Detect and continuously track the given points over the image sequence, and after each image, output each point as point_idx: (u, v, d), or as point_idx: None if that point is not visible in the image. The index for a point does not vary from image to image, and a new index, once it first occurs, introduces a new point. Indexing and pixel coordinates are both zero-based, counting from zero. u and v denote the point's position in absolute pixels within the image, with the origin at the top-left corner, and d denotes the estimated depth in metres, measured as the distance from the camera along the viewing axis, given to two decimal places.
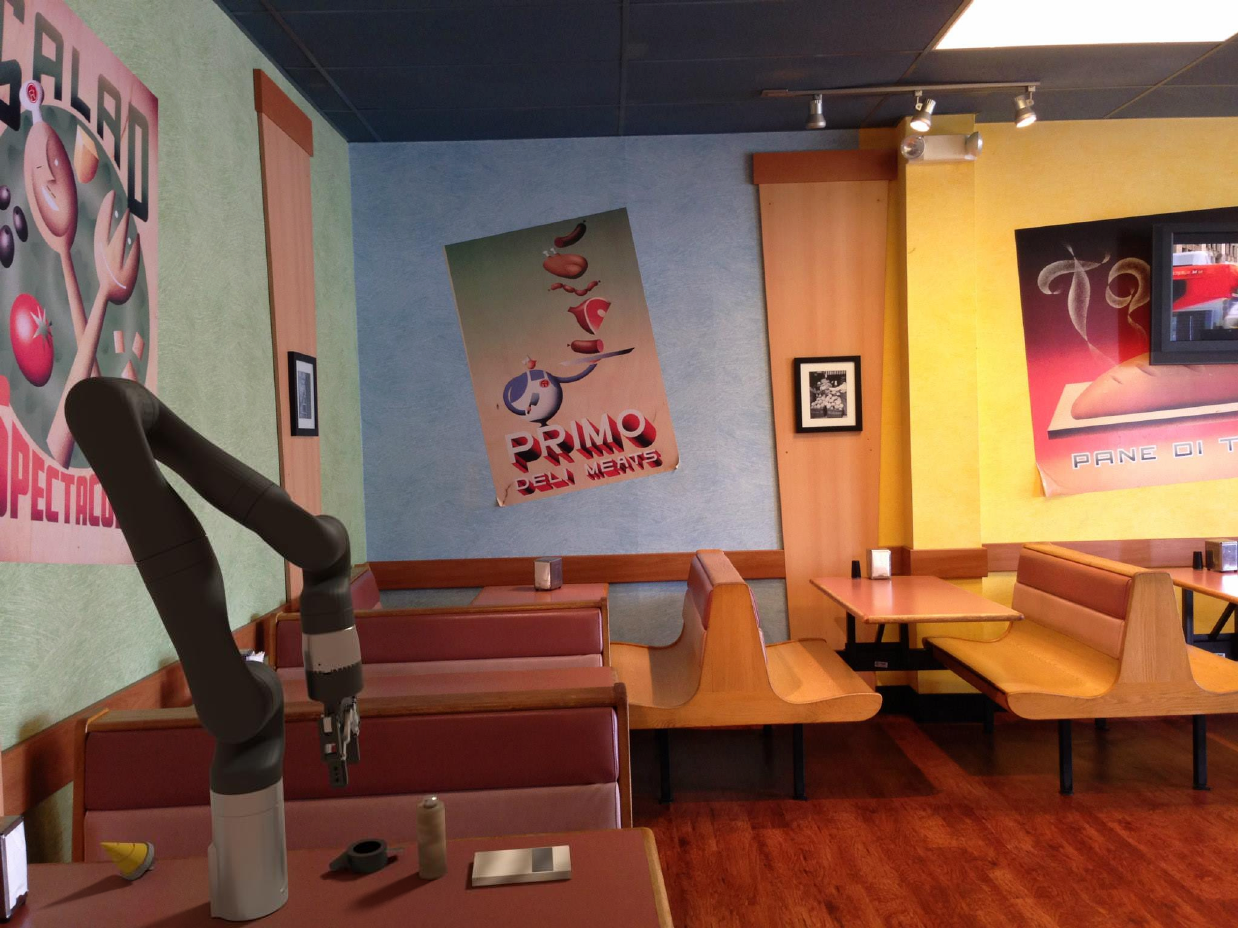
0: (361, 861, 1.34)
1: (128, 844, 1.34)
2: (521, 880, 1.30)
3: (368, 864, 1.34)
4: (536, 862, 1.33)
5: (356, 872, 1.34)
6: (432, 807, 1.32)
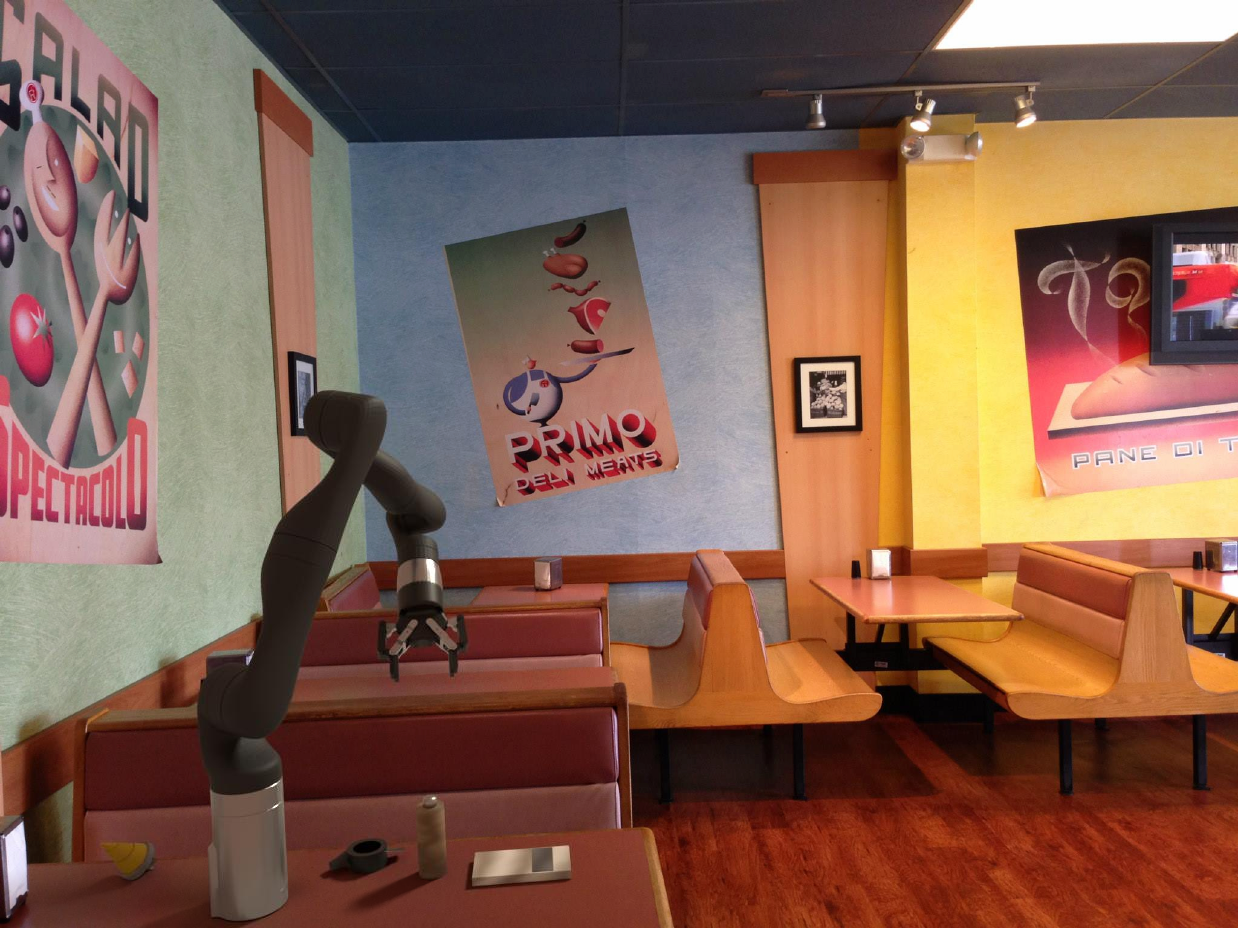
0: (360, 861, 1.34)
1: (128, 844, 1.34)
2: (521, 880, 1.30)
3: (367, 864, 1.34)
4: (536, 862, 1.33)
5: (355, 872, 1.34)
6: (432, 807, 1.32)
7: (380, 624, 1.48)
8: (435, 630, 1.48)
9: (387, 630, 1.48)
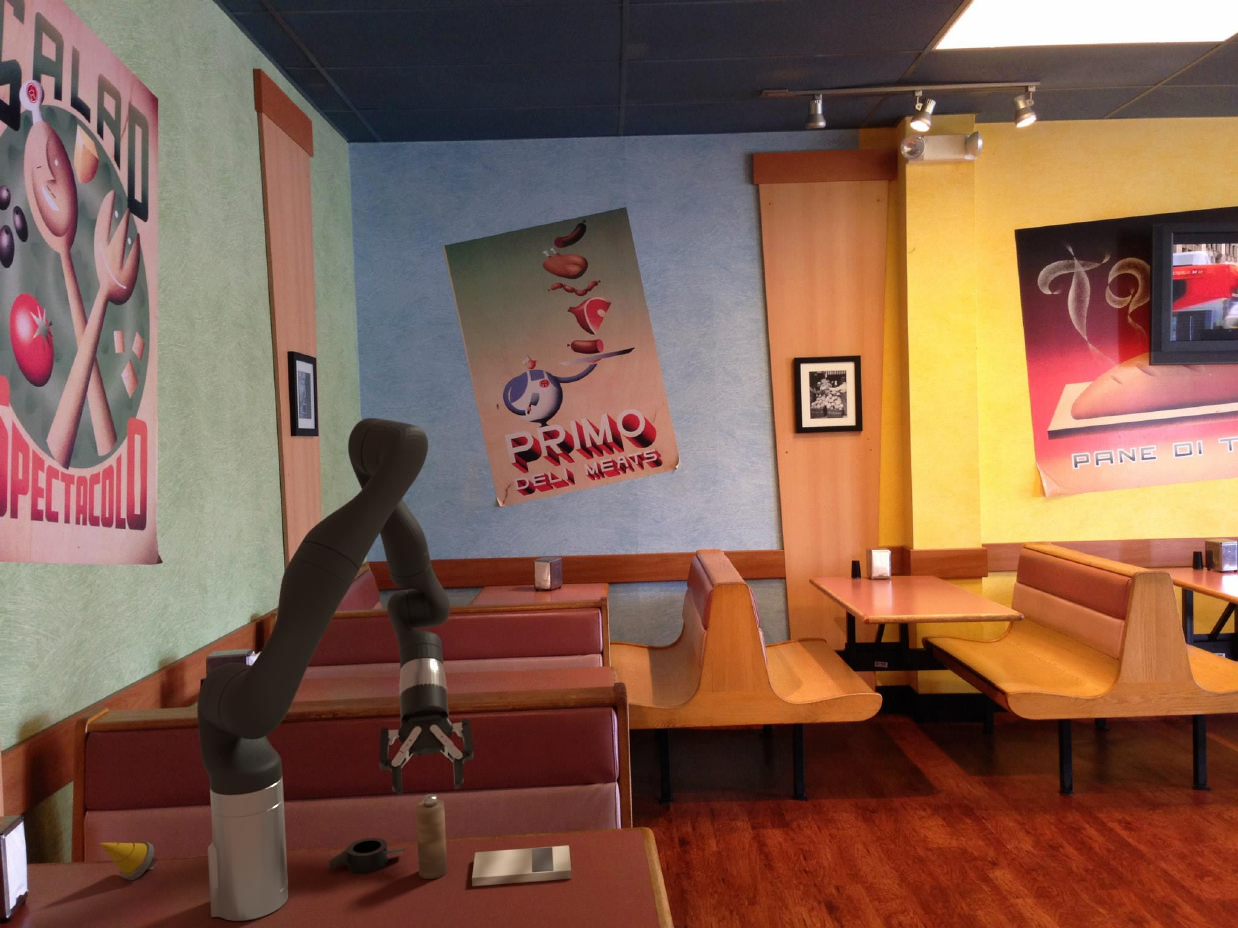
0: (358, 860, 1.34)
1: (128, 844, 1.34)
2: (521, 880, 1.30)
3: (365, 864, 1.34)
4: (536, 862, 1.33)
5: (353, 871, 1.34)
6: (432, 806, 1.32)
7: (382, 731, 1.42)
8: (439, 738, 1.42)
9: (389, 738, 1.42)
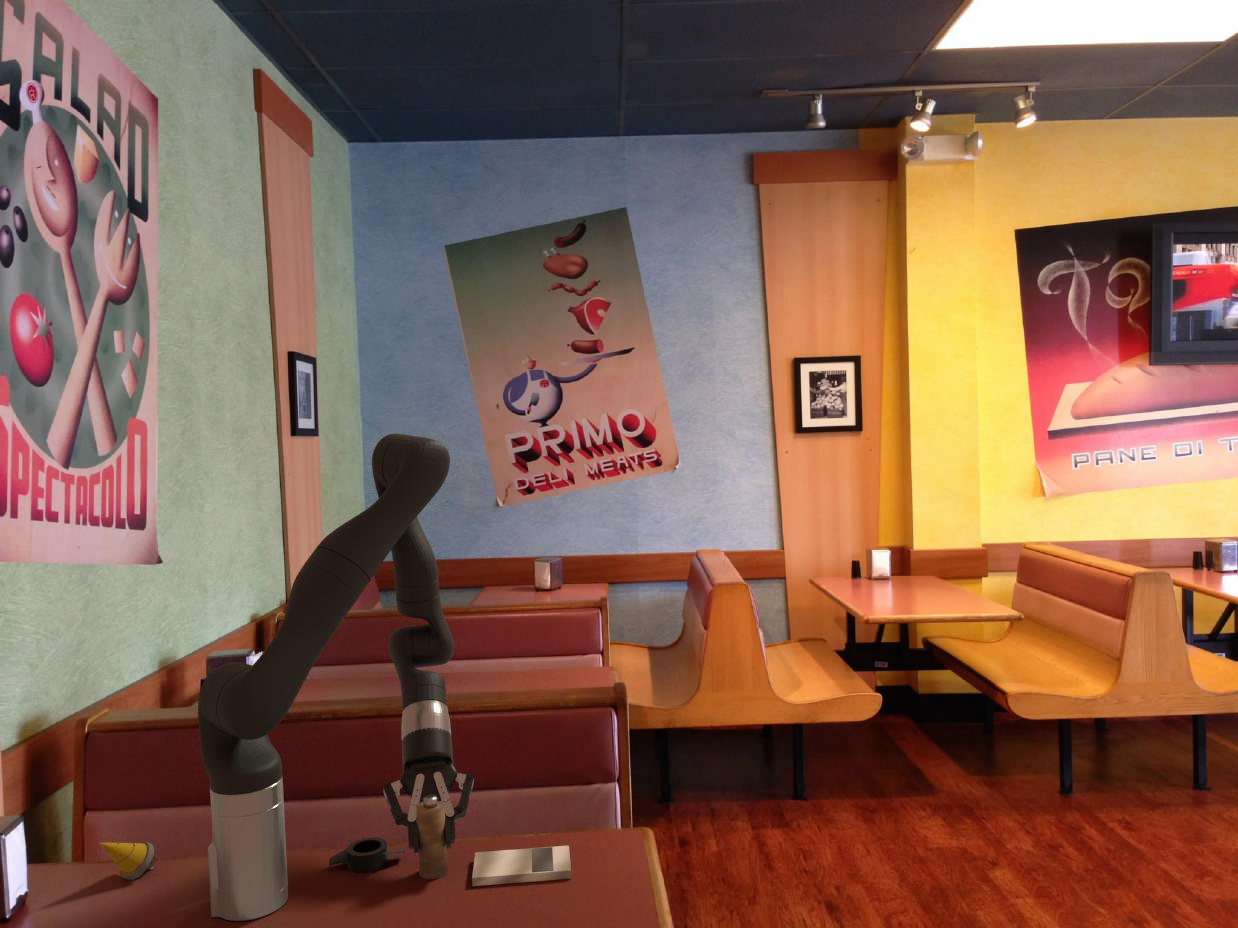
0: (356, 860, 1.34)
1: (128, 844, 1.34)
2: (521, 880, 1.30)
3: (362, 864, 1.34)
4: (536, 862, 1.33)
5: (352, 870, 1.35)
6: (433, 807, 1.32)
7: (385, 788, 1.35)
8: (438, 787, 1.36)
9: (395, 791, 1.35)
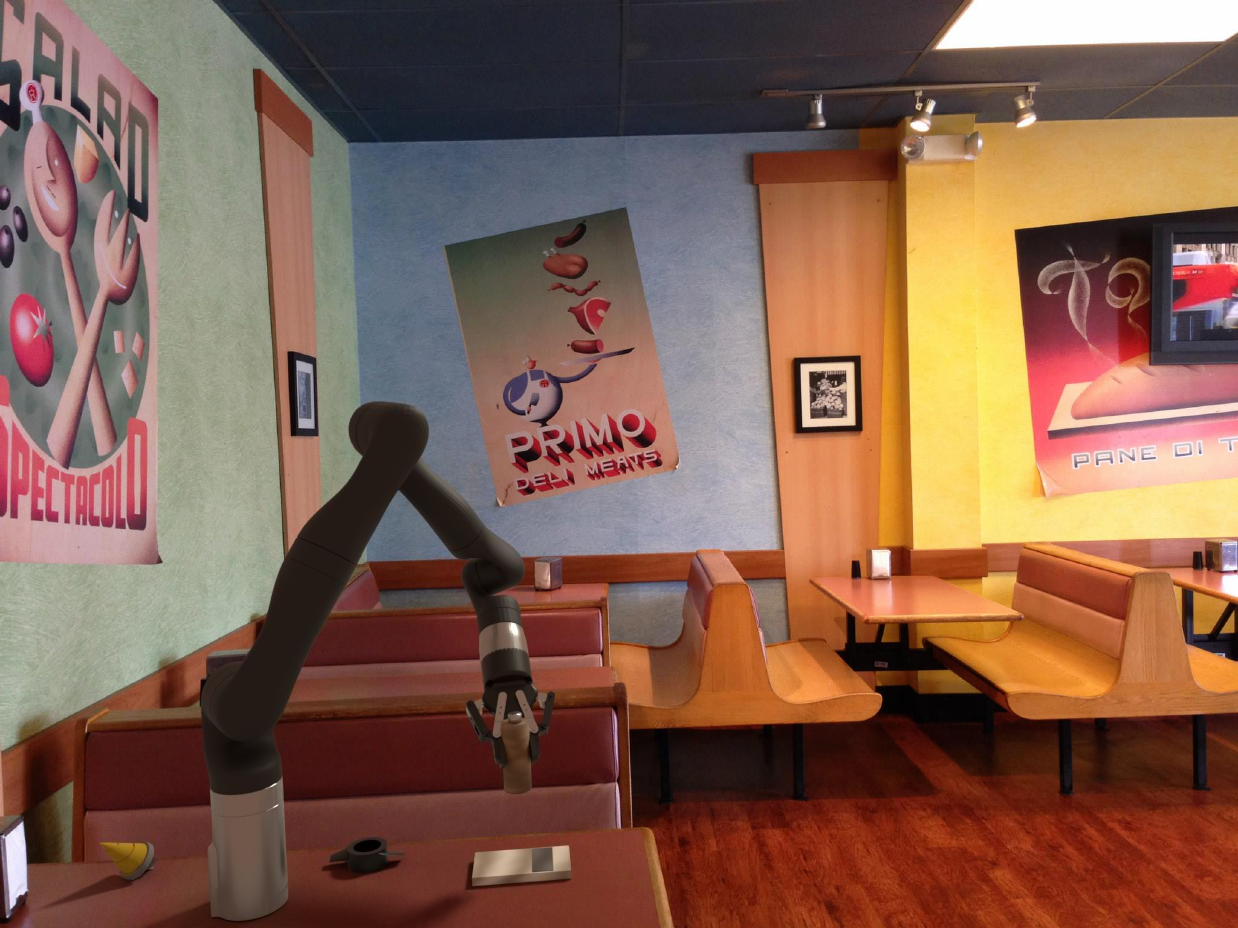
0: (354, 859, 1.34)
1: (128, 844, 1.34)
2: (521, 880, 1.30)
3: (360, 863, 1.34)
4: (536, 862, 1.33)
5: (350, 868, 1.35)
6: (518, 722, 1.33)
7: (469, 705, 1.35)
8: (521, 705, 1.36)
9: (478, 709, 1.35)
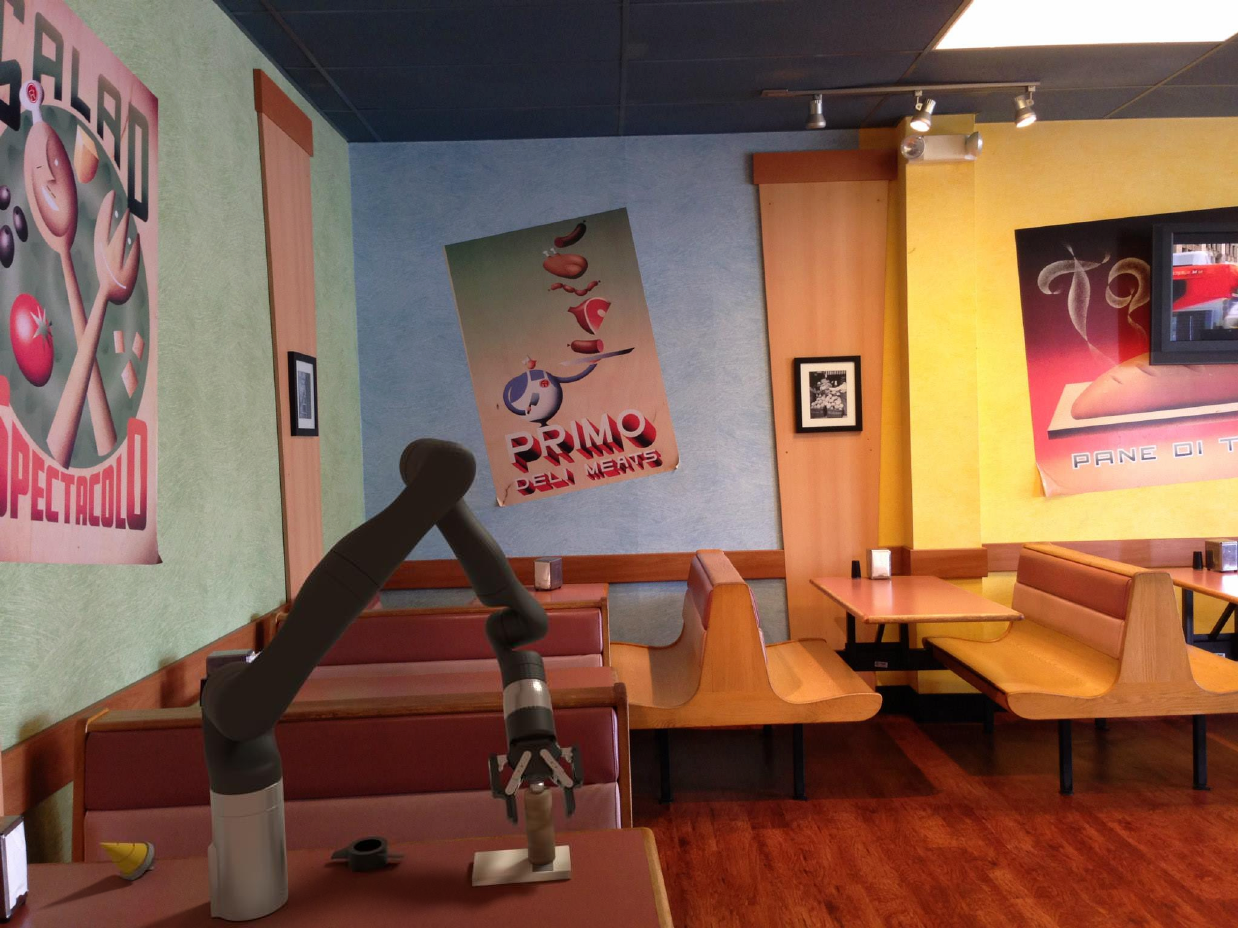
0: (352, 857, 1.35)
1: (128, 844, 1.34)
2: (521, 880, 1.30)
3: (357, 862, 1.34)
4: None
5: (349, 867, 1.36)
6: (540, 793, 1.33)
7: (491, 758, 1.36)
8: (549, 763, 1.36)
9: (499, 764, 1.36)
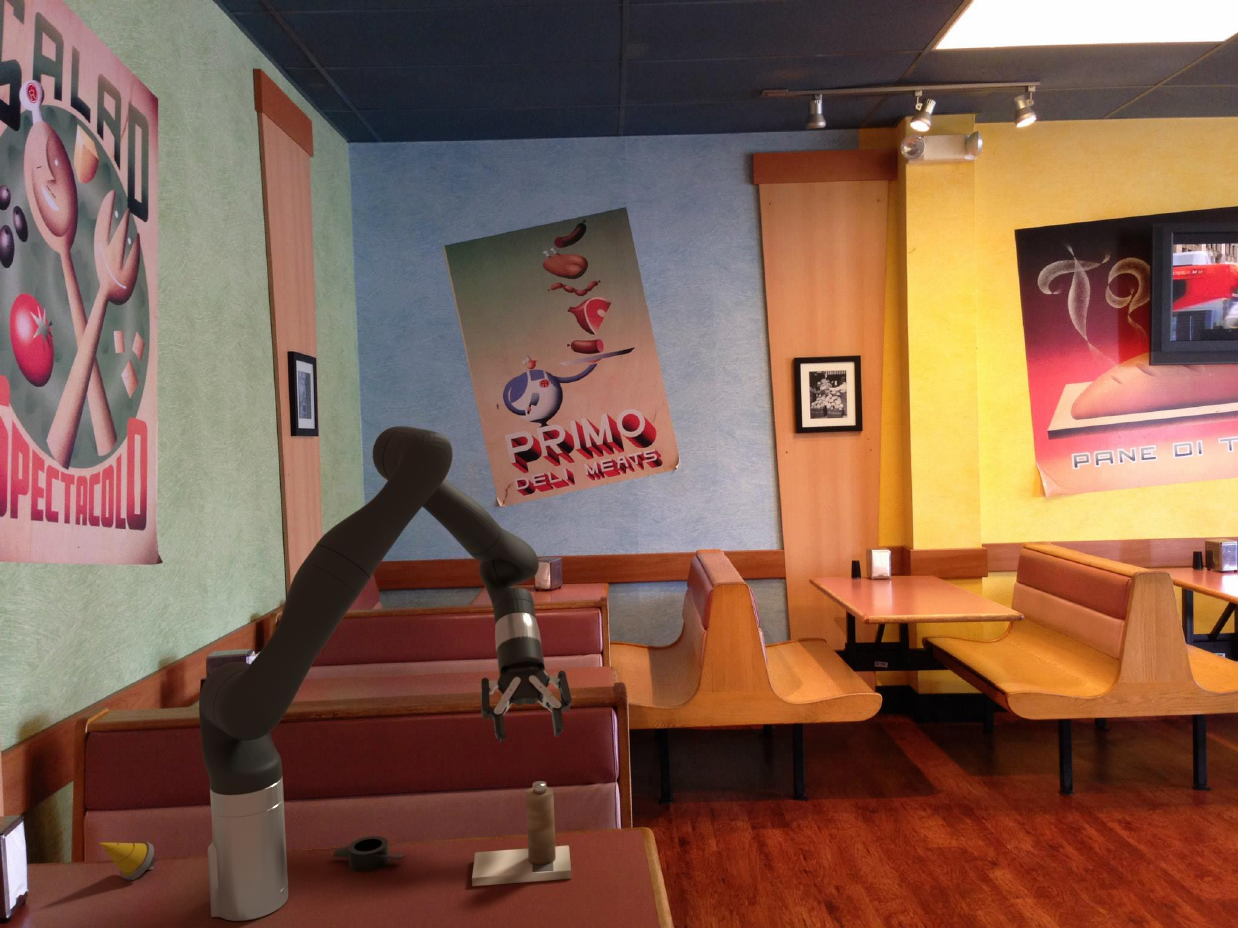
0: (351, 856, 1.35)
1: (128, 844, 1.34)
2: (521, 880, 1.30)
3: (355, 862, 1.35)
4: None
5: (349, 866, 1.36)
6: (543, 793, 1.33)
7: (483, 681, 1.46)
8: (538, 688, 1.46)
9: (490, 688, 1.46)
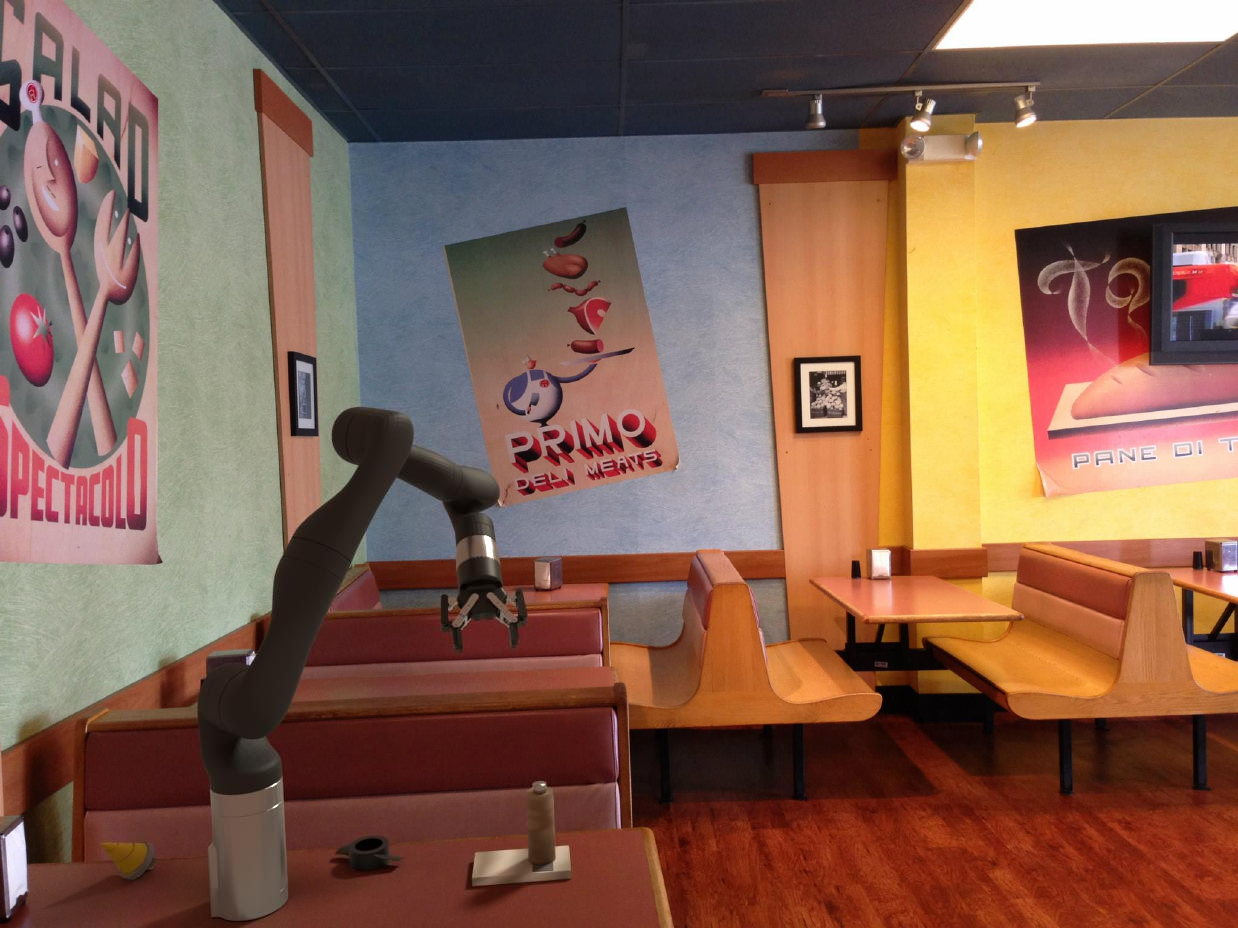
0: (350, 855, 1.36)
1: (128, 844, 1.34)
2: (521, 880, 1.30)
3: (354, 861, 1.35)
4: None
5: None
6: (543, 793, 1.33)
7: (442, 598, 1.52)
8: (495, 604, 1.52)
9: (449, 603, 1.52)
